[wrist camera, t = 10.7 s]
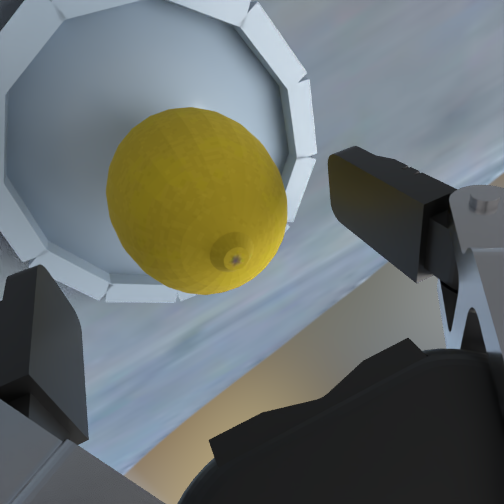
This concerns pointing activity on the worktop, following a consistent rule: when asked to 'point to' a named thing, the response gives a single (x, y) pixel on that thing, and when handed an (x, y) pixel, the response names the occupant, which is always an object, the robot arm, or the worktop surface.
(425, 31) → the worktop surface
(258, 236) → the lemon
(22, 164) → the dish
